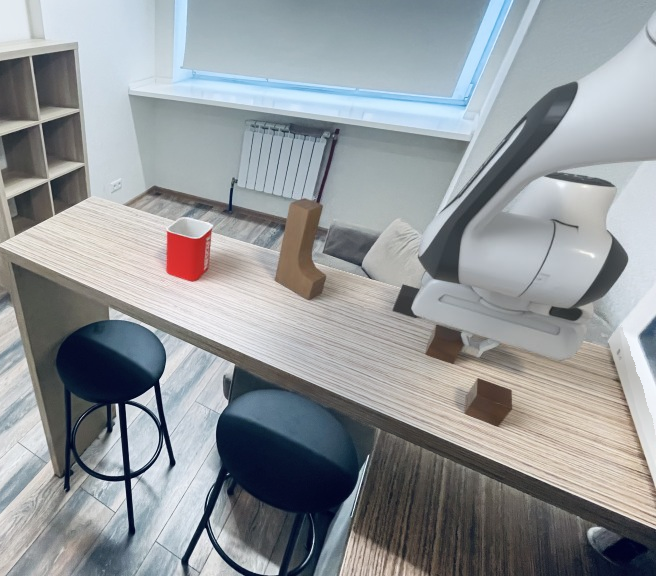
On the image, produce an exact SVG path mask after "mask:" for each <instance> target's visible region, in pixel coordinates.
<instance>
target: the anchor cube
mask: <svg viewBox="0 0 656 576" xmlns="http://www.w3.org/2000/svg"><path fill="white" fill-rule="evenodd" d="M419 290H420V288H418V287H414V286H409V285H407V284H401V287H400V289H399V292H398V294H397V296H396V299H395V301H394V305H393V308H392V312H395V313H399V314H401V315H405V316H408V317H411V318H414V319H415V318H417V317H418V316H416V315H415V314H414V313H413V311H412V309H411V307H412V304H413V301H414V299H415V297H416V295H417V293H418V291H419Z"/></svg>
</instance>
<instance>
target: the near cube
mask: <svg viewBox="0 0 656 576" xmlns="http://www.w3.org/2000/svg"><path fill="white" fill-rule="evenodd" d="M512 410H513V389H511V388H507V387H505V386H502V385H499V384H496V383H494V382H491V381H488V380H485V379H483V378H480V377H477V379H476V380H475V382H474V383H473V385H472V386H471V388H470V389H469V391H468V392H467V394H466V395H465V402H464V415H467V416H469V417H472V418H474V419H477V420H479V421H482V422H484V423H487V424H489V425H492V426H495V427H500V425H501V424H502V422H503V421H504V420H505V419H506V417H507V416H508V415H509V413H511V411H512Z"/></svg>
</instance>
